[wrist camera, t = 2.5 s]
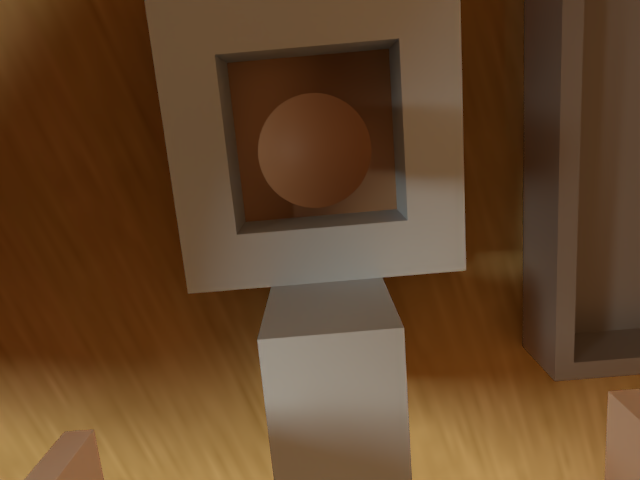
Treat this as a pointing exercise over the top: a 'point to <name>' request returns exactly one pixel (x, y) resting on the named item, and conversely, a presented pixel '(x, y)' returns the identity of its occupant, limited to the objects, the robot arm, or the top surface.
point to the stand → (314, 134)
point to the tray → (582, 187)
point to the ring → (319, 217)
